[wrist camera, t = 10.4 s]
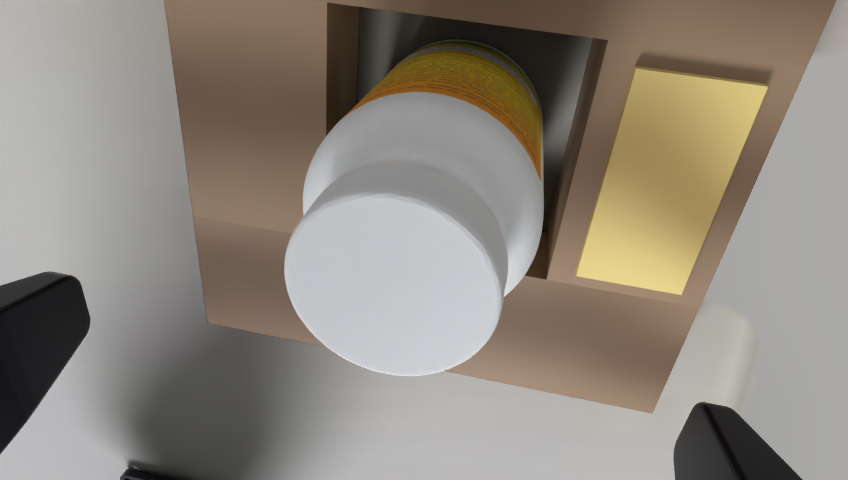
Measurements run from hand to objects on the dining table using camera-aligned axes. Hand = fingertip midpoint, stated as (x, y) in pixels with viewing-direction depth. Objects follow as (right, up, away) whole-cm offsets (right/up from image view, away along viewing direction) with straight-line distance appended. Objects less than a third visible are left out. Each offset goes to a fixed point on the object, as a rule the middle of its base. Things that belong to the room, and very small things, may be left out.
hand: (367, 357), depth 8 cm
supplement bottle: (+2, +6, +10) cm, 12 cm away
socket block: (+2, +6, +10) cm, 12 cm away
